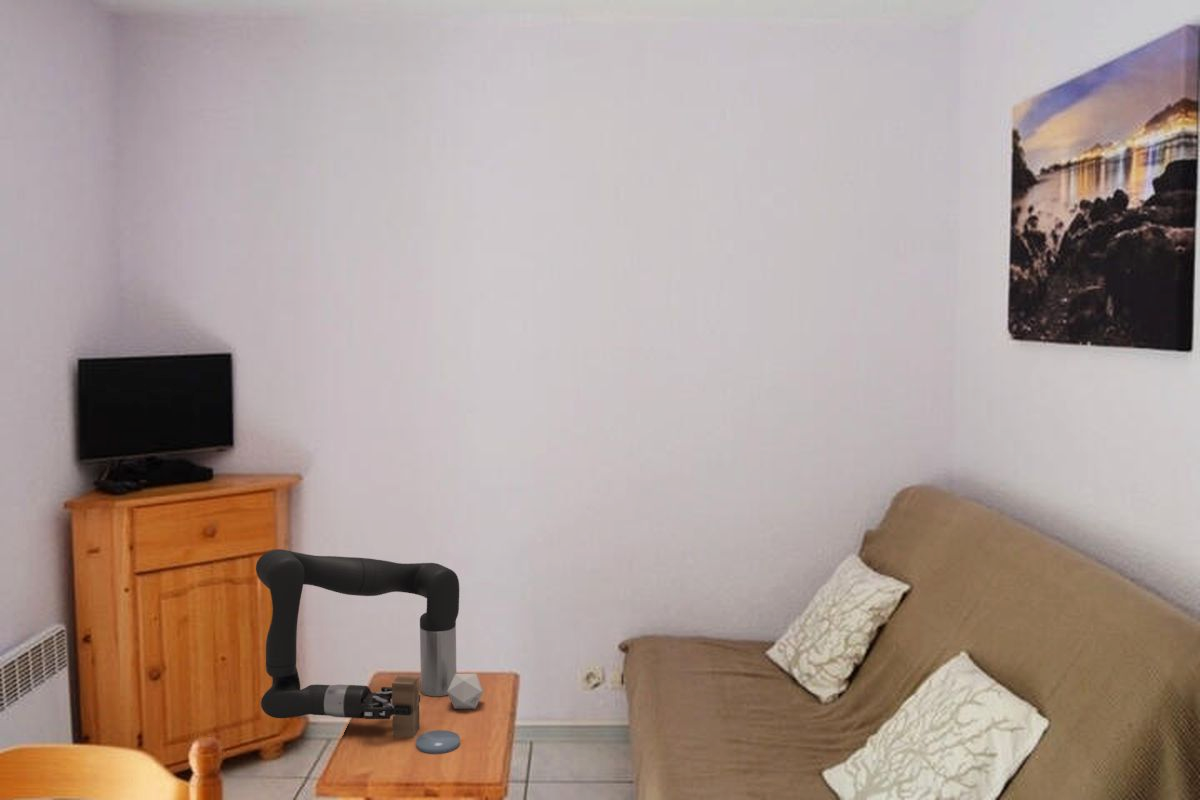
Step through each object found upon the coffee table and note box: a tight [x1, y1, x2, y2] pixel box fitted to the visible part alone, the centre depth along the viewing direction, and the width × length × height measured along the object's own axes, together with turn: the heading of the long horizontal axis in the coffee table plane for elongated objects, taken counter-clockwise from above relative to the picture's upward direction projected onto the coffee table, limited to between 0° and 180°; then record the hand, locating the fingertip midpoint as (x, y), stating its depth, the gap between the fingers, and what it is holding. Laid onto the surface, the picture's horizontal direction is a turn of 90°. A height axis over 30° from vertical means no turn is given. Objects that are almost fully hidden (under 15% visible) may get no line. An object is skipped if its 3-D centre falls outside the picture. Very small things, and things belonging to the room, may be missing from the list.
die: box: [447, 673, 484, 710], centre depth 274 cm, size 8×9×10 cm
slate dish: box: [415, 729, 461, 755], centre depth 253 cm, size 10×10×1 cm
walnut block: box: [391, 674, 421, 738], centre depth 258 cm, size 5×5×13 cm
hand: (415, 704), depth 258 cm, fingers open, 6 cm apart
